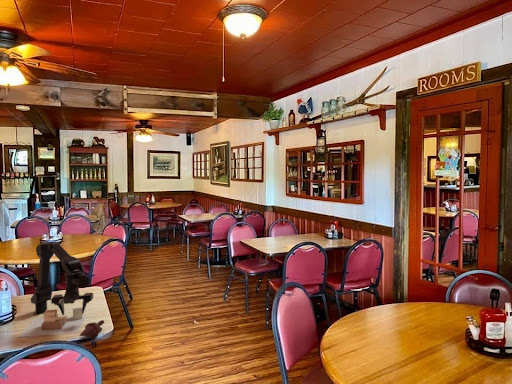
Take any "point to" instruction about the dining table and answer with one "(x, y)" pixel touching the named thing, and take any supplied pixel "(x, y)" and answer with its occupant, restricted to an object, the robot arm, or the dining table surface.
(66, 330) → the mat
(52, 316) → the maple block
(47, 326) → the plinth
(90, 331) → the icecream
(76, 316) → the beige rectangular block
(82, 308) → the robot arm
